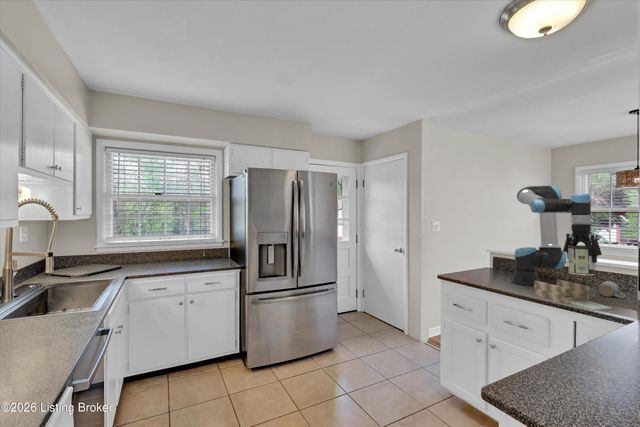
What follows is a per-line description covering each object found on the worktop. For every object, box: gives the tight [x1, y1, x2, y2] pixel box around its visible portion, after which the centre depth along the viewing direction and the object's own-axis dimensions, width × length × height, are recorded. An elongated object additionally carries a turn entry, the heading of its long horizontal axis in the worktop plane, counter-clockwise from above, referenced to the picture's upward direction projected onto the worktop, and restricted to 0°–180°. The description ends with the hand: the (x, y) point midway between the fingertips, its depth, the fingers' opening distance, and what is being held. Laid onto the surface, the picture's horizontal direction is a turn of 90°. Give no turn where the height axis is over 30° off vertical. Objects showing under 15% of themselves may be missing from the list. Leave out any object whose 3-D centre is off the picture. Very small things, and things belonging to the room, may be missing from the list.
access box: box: [533, 278, 590, 305], centre depth 164 cm, size 17×16×8 cm
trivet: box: [569, 300, 613, 311], centre depth 150 cm, size 11×11×1 cm
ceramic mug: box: [597, 280, 627, 299], centre depth 166 cm, size 11×8×8 cm
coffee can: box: [568, 245, 596, 277], centre depth 153 cm, size 10×10×14 cm
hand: (581, 267), depth 153 cm, fingers closed on coffee can, 10 cm apart
